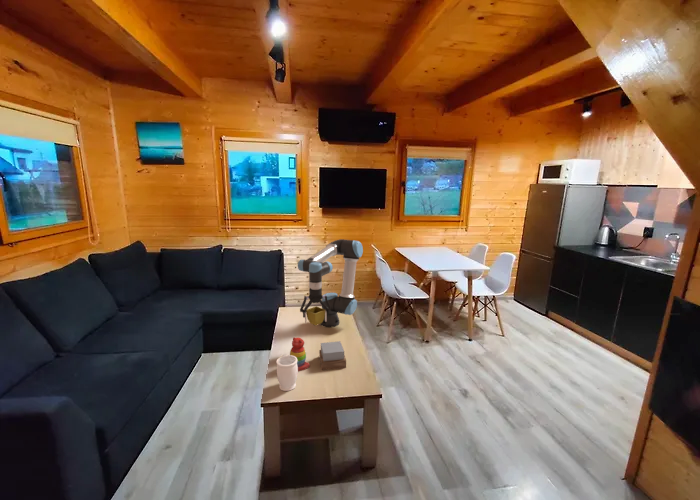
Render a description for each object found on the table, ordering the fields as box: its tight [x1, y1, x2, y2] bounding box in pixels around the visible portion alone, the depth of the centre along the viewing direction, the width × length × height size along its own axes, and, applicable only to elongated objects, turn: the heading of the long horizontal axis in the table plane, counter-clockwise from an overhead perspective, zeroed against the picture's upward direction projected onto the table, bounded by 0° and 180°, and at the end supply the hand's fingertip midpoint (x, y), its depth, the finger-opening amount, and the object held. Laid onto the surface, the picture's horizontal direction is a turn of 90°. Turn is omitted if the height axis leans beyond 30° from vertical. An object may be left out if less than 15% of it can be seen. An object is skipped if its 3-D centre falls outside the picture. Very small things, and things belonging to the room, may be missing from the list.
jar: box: [276, 354, 299, 392], centre depth 161 cm, size 11×10×15 cm
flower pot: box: [306, 305, 325, 326], centre depth 192 cm, size 9×9×9 cm
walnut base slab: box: [319, 349, 347, 371], centre depth 185 cm, size 14×14×5 cm
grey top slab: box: [320, 340, 345, 361], centre depth 184 cm, size 12×12×5 cm
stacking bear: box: [289, 337, 311, 372], centre depth 179 cm, size 11×10×18 cm
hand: (315, 321), depth 193 cm, fingers closed on flower pot, 12 cm apart
